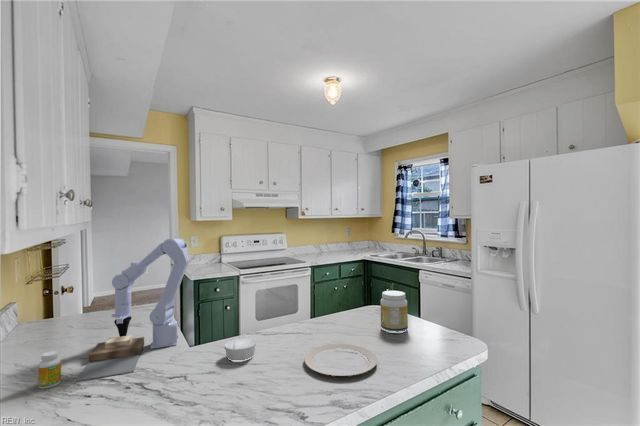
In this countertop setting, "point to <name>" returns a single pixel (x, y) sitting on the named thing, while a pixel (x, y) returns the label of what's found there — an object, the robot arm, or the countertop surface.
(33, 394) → the countertop surface
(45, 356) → the supplement bottle
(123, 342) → the birch tile
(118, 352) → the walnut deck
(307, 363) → the plate
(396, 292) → the supplement tub
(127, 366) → the grey flat slab
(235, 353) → the ramekin
